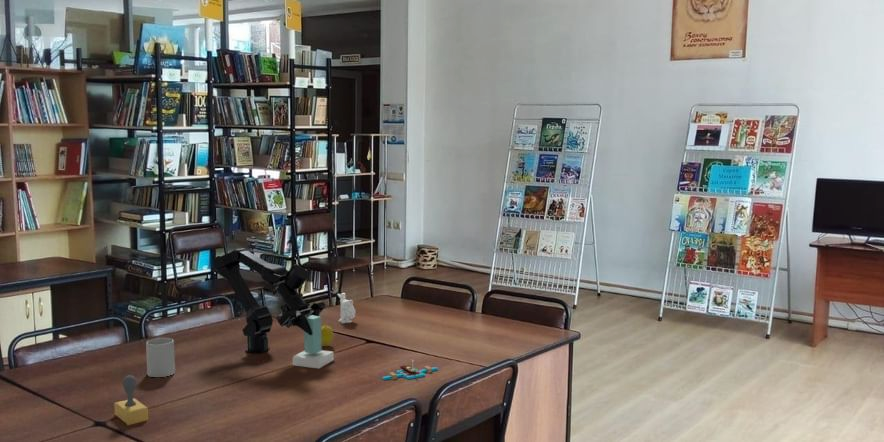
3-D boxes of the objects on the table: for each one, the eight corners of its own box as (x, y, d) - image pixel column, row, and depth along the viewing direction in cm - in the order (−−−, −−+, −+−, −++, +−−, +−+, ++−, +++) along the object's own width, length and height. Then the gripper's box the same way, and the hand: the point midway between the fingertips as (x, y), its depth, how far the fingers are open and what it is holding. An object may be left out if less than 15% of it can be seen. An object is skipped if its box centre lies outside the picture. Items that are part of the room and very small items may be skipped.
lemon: (330, 348, 279) (330, 327, 278) (316, 347, 280) (315, 326, 279) (335, 344, 284) (335, 323, 283) (321, 343, 285) (321, 322, 284)
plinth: (292, 365, 259) (292, 356, 259) (308, 357, 268) (308, 348, 268) (318, 368, 256) (318, 359, 255) (333, 360, 265) (333, 351, 265)
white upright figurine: (332, 321, 317) (332, 293, 316) (345, 319, 322) (345, 291, 321) (345, 325, 312) (345, 296, 310) (358, 322, 316) (358, 294, 315)
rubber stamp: (114, 415, 214) (112, 373, 213) (135, 410, 218) (133, 369, 216) (127, 425, 207) (124, 382, 205) (148, 420, 210) (146, 377, 209)
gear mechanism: (375, 376, 249) (389, 384, 241) (375, 360, 249) (388, 367, 241) (428, 366, 260) (443, 374, 252) (428, 350, 259) (443, 358, 251)
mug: (178, 375, 248) (177, 342, 247) (151, 380, 243) (150, 346, 242) (167, 365, 258) (166, 334, 257) (141, 370, 253) (139, 338, 252)
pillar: (304, 352, 261) (304, 317, 260) (312, 349, 264) (312, 315, 263) (313, 353, 259) (313, 319, 257) (321, 351, 262) (321, 316, 261)
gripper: (297, 306, 276) (321, 340, 272) (259, 316, 260) (284, 353, 256) (314, 287, 271) (338, 322, 267) (276, 296, 255) (301, 334, 251)
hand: (315, 333), depth 260 cm, fingers closed on pillar, 4 cm apart
